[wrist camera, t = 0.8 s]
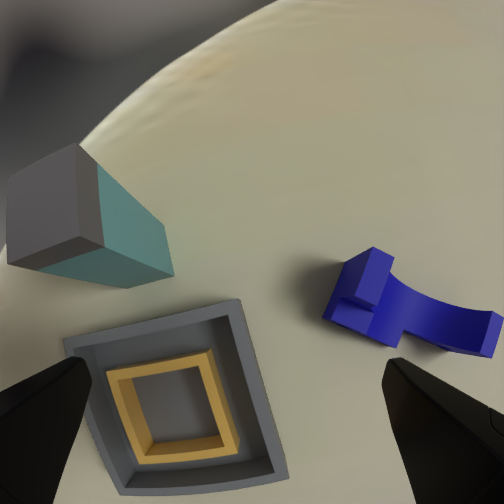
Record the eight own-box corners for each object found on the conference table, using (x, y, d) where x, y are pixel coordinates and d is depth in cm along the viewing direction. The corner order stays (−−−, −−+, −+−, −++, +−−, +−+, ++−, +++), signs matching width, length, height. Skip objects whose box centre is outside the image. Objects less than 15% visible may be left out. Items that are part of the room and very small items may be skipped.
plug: (174, 275, 22) (79, 235, 9) (127, 288, 22) (7, 264, 9) (164, 225, 23) (75, 141, 10) (118, 239, 23) (8, 177, 10)
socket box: (285, 456, 19) (289, 478, 16) (134, 476, 19) (119, 495, 15) (240, 299, 22) (237, 298, 18) (86, 335, 21) (62, 338, 18)
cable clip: (321, 317, 22) (344, 321, 16) (344, 262, 22) (372, 246, 16) (441, 367, 20) (484, 378, 15) (459, 318, 21) (504, 317, 15)
